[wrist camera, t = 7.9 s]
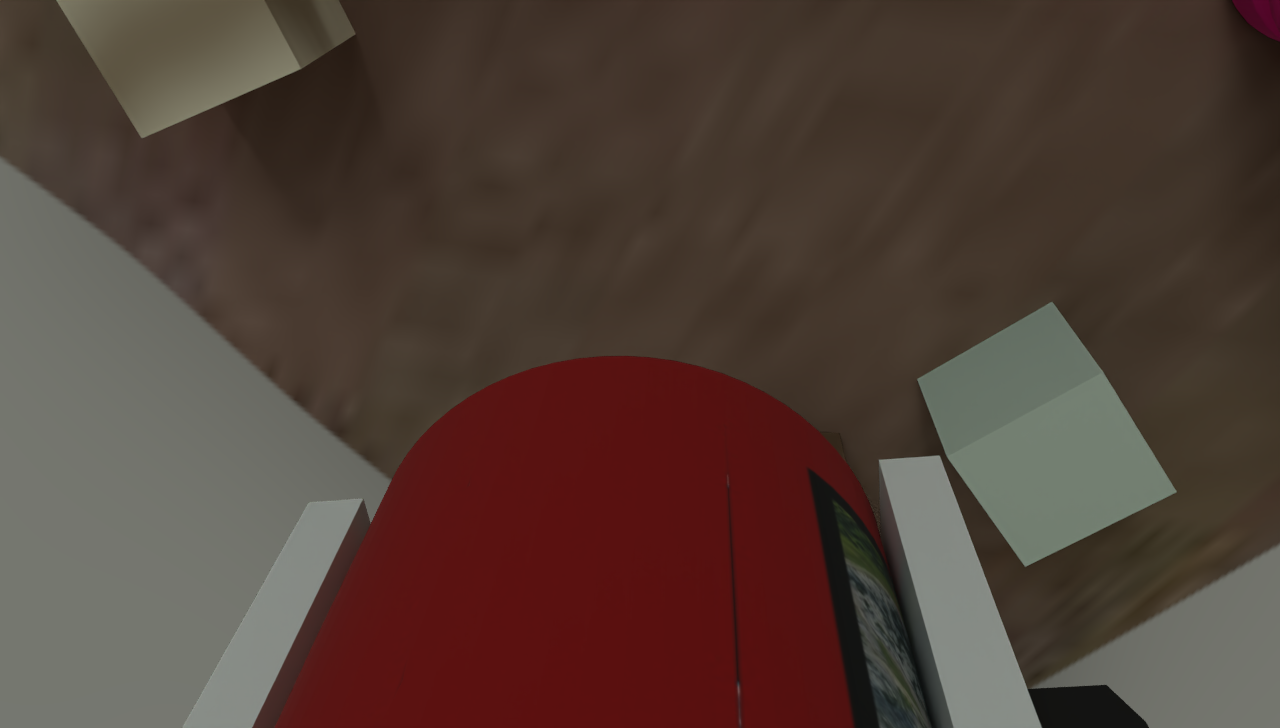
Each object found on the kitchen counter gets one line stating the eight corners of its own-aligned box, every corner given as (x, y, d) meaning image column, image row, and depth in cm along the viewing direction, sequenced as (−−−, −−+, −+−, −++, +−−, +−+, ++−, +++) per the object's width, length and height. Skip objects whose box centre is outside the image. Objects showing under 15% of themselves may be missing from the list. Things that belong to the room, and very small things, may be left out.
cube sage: (916, 378, 36) (946, 456, 32) (1051, 300, 35) (1103, 372, 30) (987, 478, 38) (1025, 567, 34) (1118, 409, 37) (1176, 491, 32)
